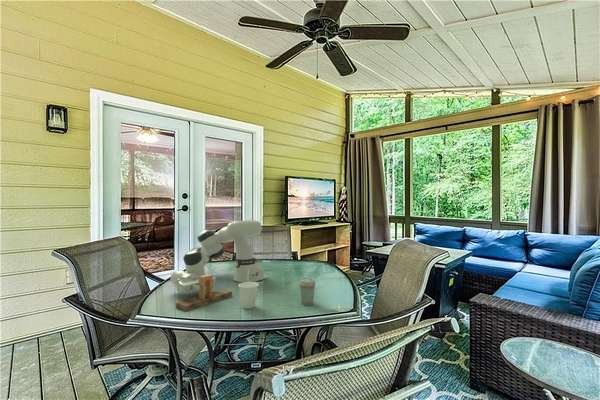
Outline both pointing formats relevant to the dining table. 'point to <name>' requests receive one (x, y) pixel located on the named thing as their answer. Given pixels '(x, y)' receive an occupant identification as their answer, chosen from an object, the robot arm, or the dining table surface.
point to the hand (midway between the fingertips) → (206, 286)
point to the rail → (197, 302)
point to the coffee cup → (307, 290)
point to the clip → (206, 286)
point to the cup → (248, 294)
